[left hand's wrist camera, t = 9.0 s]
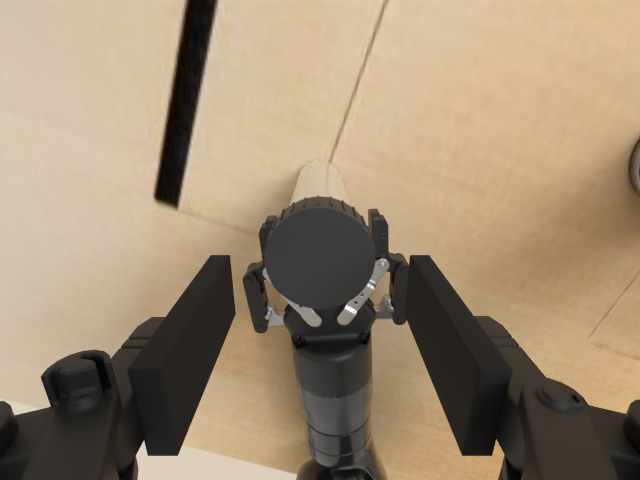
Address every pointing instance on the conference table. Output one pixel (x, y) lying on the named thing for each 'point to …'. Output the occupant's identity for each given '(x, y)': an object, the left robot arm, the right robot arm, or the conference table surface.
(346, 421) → the right robot arm
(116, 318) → the conference table surface
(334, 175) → the white cylindrical bottle
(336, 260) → the lid
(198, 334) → the left robot arm
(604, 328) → the conference table surface
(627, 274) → the conference table surface
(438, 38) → the conference table surface
